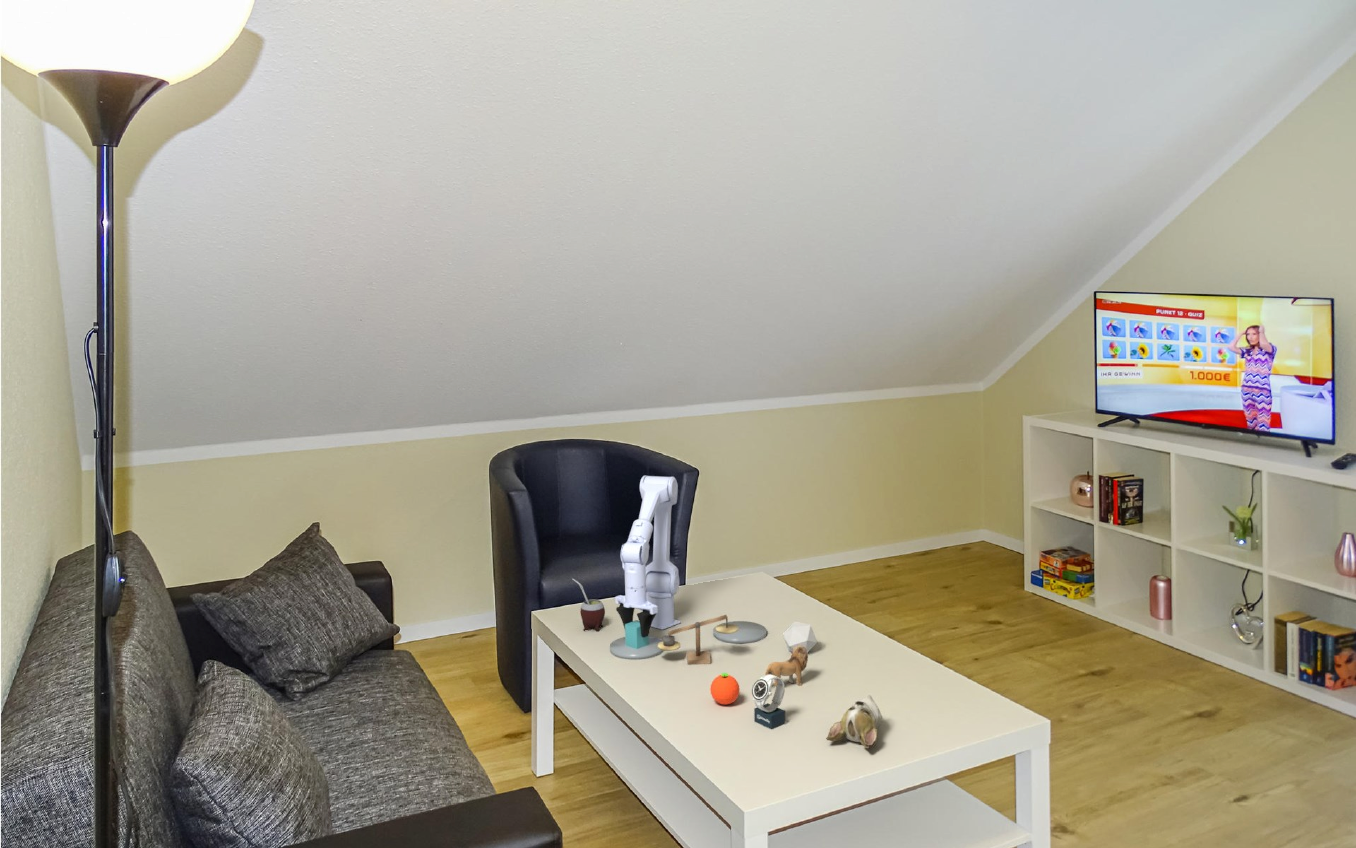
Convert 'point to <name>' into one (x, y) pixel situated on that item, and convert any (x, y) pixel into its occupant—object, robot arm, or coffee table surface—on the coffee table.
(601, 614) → the mate gourd
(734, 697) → the clementine
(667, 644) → the balance
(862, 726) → the ceramic sculpture
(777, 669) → the lion figurine
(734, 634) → the grey round disc
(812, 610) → the coffee table surface
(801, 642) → the die
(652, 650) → the dish low side
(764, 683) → the watch
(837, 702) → the coffee table surface
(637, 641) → the block
